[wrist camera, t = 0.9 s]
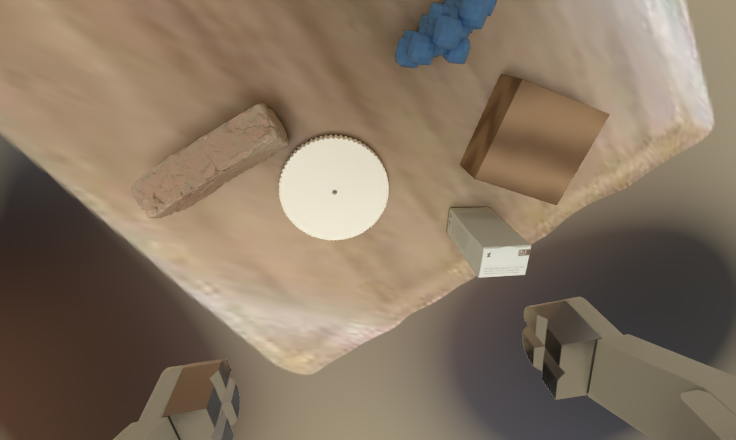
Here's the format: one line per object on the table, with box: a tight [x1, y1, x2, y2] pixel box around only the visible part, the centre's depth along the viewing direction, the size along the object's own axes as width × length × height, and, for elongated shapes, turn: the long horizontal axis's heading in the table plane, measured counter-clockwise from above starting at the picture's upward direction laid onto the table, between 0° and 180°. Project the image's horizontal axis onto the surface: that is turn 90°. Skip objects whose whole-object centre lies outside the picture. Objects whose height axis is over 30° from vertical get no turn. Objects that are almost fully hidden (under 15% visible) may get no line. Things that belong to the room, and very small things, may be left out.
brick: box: [132, 103, 289, 219], centre depth 43 cm, size 16×8×5 cm
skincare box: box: [447, 207, 531, 278], centre depth 50 cm, size 6×4×12 cm
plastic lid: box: [279, 135, 389, 241], centre depth 50 cm, size 14×14×2 cm
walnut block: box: [460, 74, 610, 205], centre depth 49 cm, size 12×12×6 cm
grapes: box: [395, 0, 497, 68], centre depth 39 cm, size 12×7×12 cm, turn 125°
